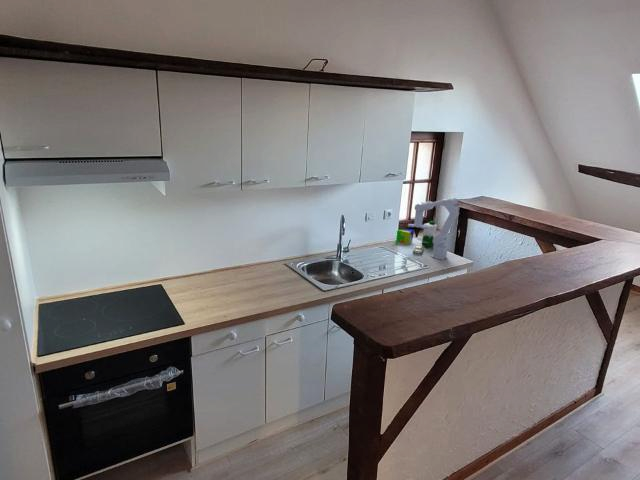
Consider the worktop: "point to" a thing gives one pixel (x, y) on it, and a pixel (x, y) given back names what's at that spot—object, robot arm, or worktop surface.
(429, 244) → the milk carton
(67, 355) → the worktop surface
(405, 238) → the puzzle toy
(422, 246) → the key panel
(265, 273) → the worktop surface
